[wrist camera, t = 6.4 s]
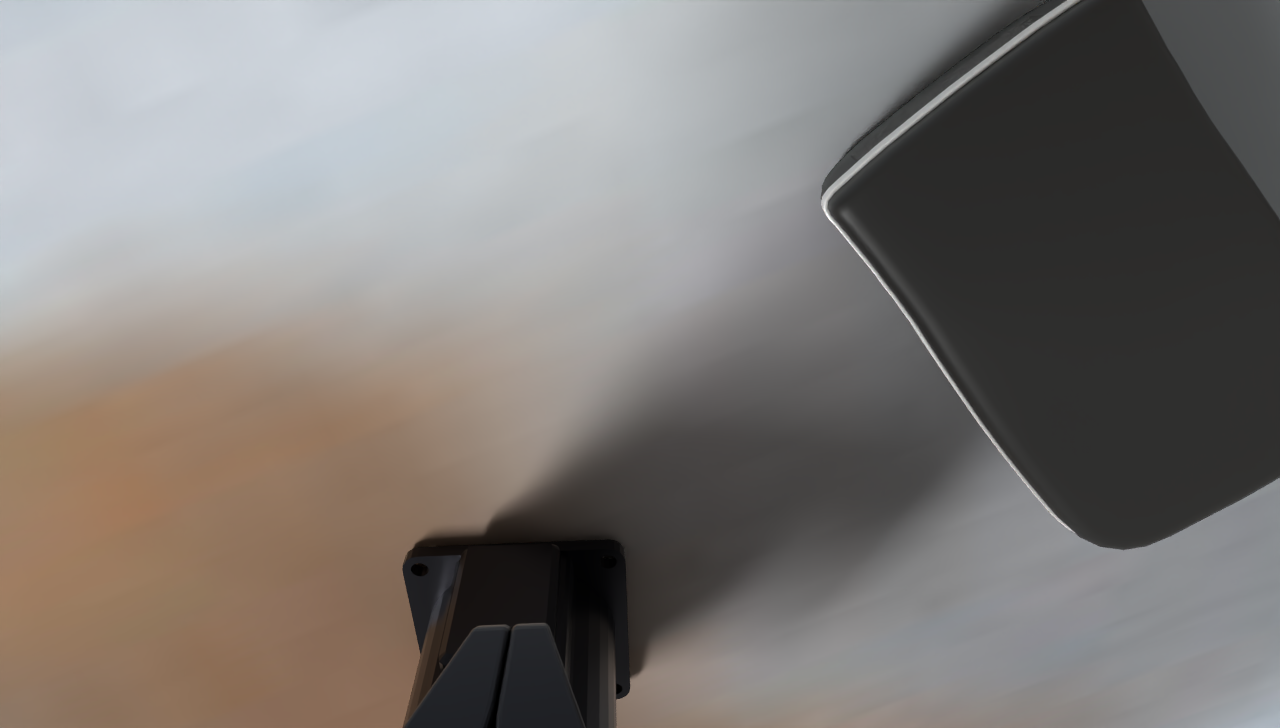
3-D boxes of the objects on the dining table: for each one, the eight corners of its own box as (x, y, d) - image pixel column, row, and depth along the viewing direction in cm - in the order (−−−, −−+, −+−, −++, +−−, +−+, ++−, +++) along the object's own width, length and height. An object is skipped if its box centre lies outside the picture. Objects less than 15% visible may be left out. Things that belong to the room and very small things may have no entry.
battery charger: (791, 177, 20) (1038, 499, 22) (811, 208, 16) (1102, 585, 19) (1053, -30, 18) (1289, 352, 20) (1141, -47, 14) (1413, 418, 17)
